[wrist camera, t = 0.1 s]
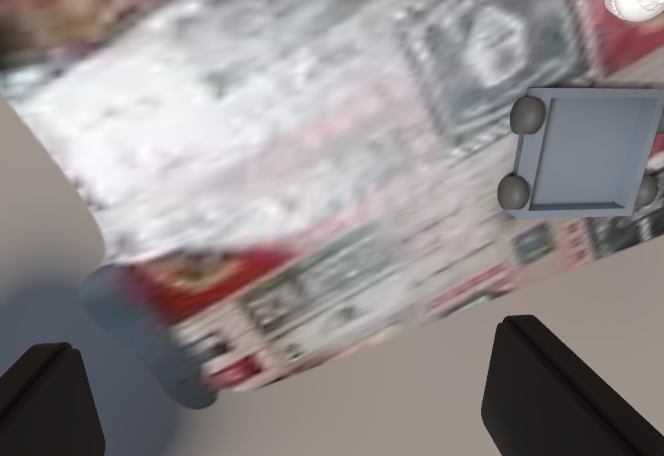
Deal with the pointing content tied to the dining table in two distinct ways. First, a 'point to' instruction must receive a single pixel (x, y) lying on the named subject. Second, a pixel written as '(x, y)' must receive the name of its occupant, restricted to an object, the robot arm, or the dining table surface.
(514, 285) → the dining table surface
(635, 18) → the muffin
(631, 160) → the toy cart
